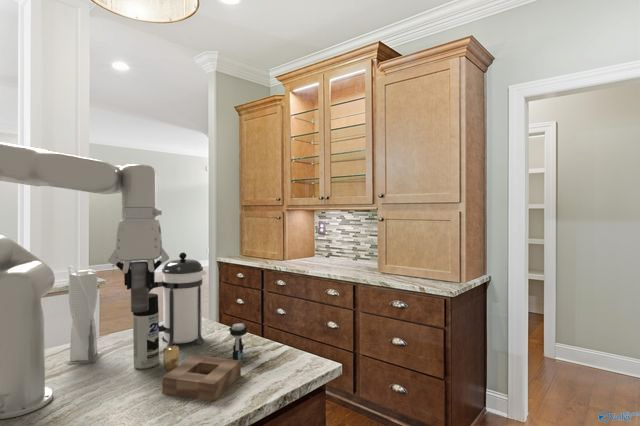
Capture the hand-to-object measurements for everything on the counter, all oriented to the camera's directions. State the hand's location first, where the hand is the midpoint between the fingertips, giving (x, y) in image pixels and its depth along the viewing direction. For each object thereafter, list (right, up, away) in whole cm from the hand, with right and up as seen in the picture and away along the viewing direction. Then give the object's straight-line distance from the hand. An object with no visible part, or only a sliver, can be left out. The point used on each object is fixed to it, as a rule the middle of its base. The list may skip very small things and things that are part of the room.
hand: (139, 286), depth 95 cm
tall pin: (0, -6, 0) cm, 6 cm away
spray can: (-5, -25, +14) cm, 29 cm away
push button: (+21, -25, +20) cm, 38 cm away
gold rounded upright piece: (+4, -25, +11) cm, 28 cm away
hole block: (+15, -25, +3) cm, 30 cm away
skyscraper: (-25, -25, +18) cm, 40 cm away
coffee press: (-1, -25, +31) cm, 39 cm away
